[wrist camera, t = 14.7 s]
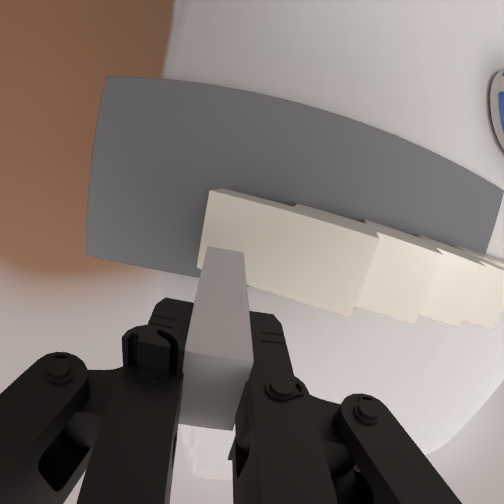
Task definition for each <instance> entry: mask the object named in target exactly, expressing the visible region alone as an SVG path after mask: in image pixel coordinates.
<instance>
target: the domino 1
mask: <svg viewBox="0 0 504 504" xmlns="http://www.w3.org/2000/svg"><path fill="white" fill-rule="evenodd" d="M378 242H379V237H378V234H377V232H375V231H372V230H369V229H366V228H363V227H360V226H356V225H353V224H350V223H347V222H343V221H340V220H337V219H334V218H330V217H327V216H323V215H320V214H317V213H313V212H310V211H306V210H303V209H299V208H296V207H292V206H289V205H285V204H281V203H278V202H274V201H270V200H267V199H263V198H259V197H255V196H251V195H248V194H244V193H240V192H236V191H232V190H228V189H224V188H219V189H214V190H210V191H209V196H208V202H207V208H206V213H205V219H204V225H203V231H202V237H201V243H200V249H199V256H198V262H197V268H199V269H202V267H203V263H204V258H205V254H206V250H207V246H211V247H216V248H222V249H227V250H233V251H238V252H244V261H245V272H246V283H247V285H249V286H252V287H255V288H258V289H261V290H264V291H267V292H270V293H273V294H276V295H280V296H283V297H286V298H289V299H292V300H295V301H298V302H301V303H304V304H308V305H311V306H314V307H317V308H320V309H324V310H327V311H330V312H333V313H336V314H340V315H343V316H346V317H350V318H351V315H352V313H353V310H354V308H355V305H356V303H357V300H358V298H359V295H360V293H361V290H362V287H363V285H364V282H365V279H366V277H367V274H368V271H369V268H370V265H371V263H372V260H373V257H374V254H375V251H376V248H377V245H378Z"/></svg>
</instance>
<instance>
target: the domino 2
mask: <svg viewBox="0 0 504 504" xmlns="http://www.w3.org/2000/svg"><path fill="white" fill-rule="evenodd" d="M294 207H296V208H299V209H303V210H306V211H310V212H313V213H317V214H320V215H323V216H327V217H330V218H334V219H337V220H340V221H343V222H347V223H350V224H353V225H356V226H360V227H363V228H366V229H369V230H372V231H375V232H377V234H378V237H379V242H378V245H377V248H376V251H375V254H374V257H373V260H372V263H371V265H370V268H369V271H368V274H367V277H366V279H365V282H364V285H363V287H362V290H361V293H360V295H359V298H358V300H357V303H356V305H355V306H356V307H359V308H363V309H366V310H369V311H373V312H376V313H379V314H383V315H386V316H389V317H393V318H396V319H399V320H403V321H406V322H410V323H413V324H414V323H415V321H416V319H417V317H418V315H419V313H420V311H421V308H422V306H423V304H424V302H425V299H426V297H427V295H428V293H429V290H430V288H431V285H432V283H433V281H434V278H435V276H436V273H437V271H438V268H439V265H440V263H441V260H442V257H443V254H442V253H441V252H440V251H439V250H438V249H437V248H436V247H433V246H430V245H428V244H425V243H422V242H419V241H416V240H413V239H411V238H408V237H405V236H402V235H399V234H396V233H393V232H390V231H387V230H384V229H381V228H378V227H375V226H371V225H368V224H365V223H362V222H359V221H356V220H352V219H349V218H346V217H343V216H339V215H336V214H333V213H329V212H326V211H322V210H319V209H316V208H312V207H309V206H305V205H302V204H296V205H295V206H294Z"/></svg>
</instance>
